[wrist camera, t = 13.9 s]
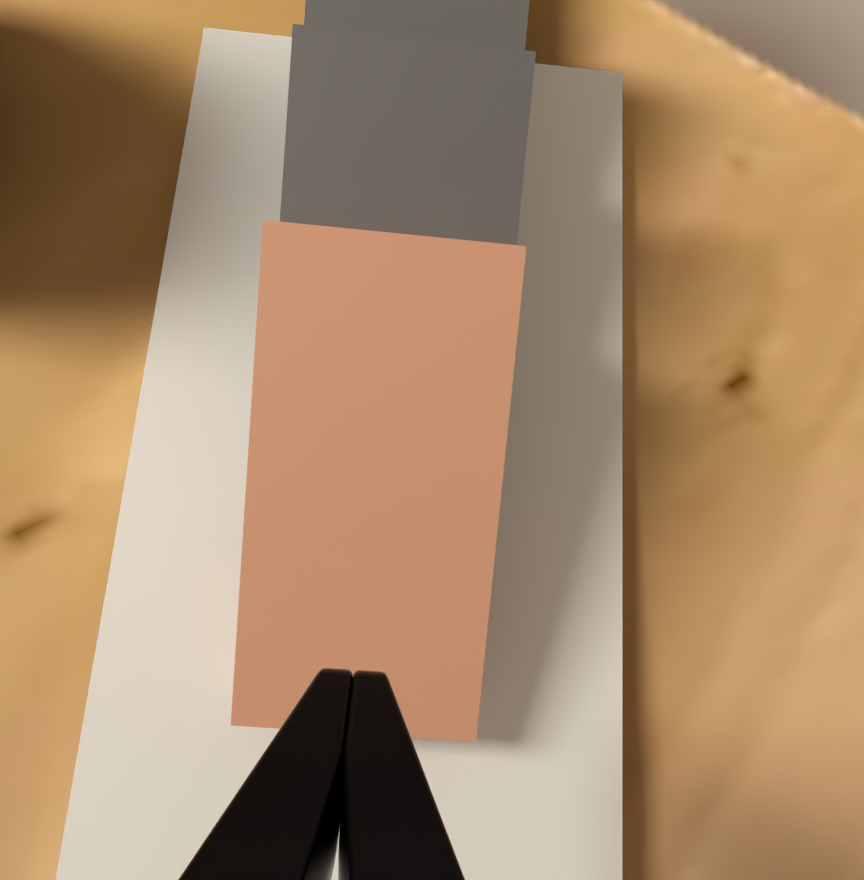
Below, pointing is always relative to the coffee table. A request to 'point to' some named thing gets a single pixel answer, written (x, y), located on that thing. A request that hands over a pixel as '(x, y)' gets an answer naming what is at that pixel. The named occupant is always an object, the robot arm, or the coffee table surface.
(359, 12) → the domino
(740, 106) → the coffee table surface
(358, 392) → the domino
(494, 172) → the domino
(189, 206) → the domino board
